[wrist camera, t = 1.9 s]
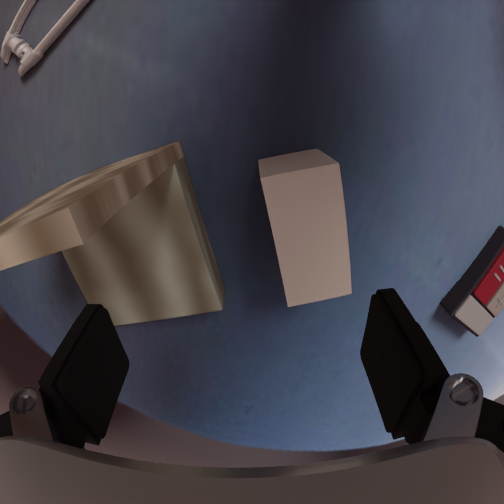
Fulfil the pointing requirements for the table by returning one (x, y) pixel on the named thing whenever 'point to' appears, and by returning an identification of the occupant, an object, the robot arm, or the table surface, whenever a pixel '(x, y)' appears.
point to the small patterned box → (479, 288)
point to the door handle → (34, 56)
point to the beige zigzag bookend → (125, 238)
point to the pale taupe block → (308, 224)
